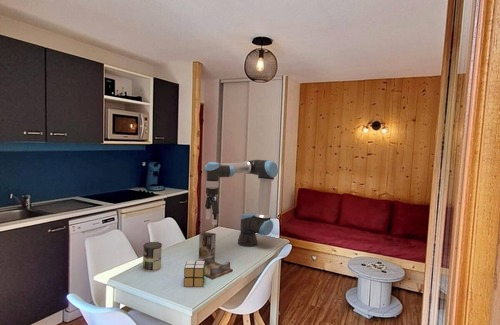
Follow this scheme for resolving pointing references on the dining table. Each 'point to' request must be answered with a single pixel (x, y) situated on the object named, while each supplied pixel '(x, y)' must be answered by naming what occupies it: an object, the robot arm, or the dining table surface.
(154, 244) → the coffee can
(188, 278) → the puzzle cube
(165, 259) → the dining table surface
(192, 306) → the dining table surface
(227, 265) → the rail dock
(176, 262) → the dining table surface
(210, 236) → the coffee box
